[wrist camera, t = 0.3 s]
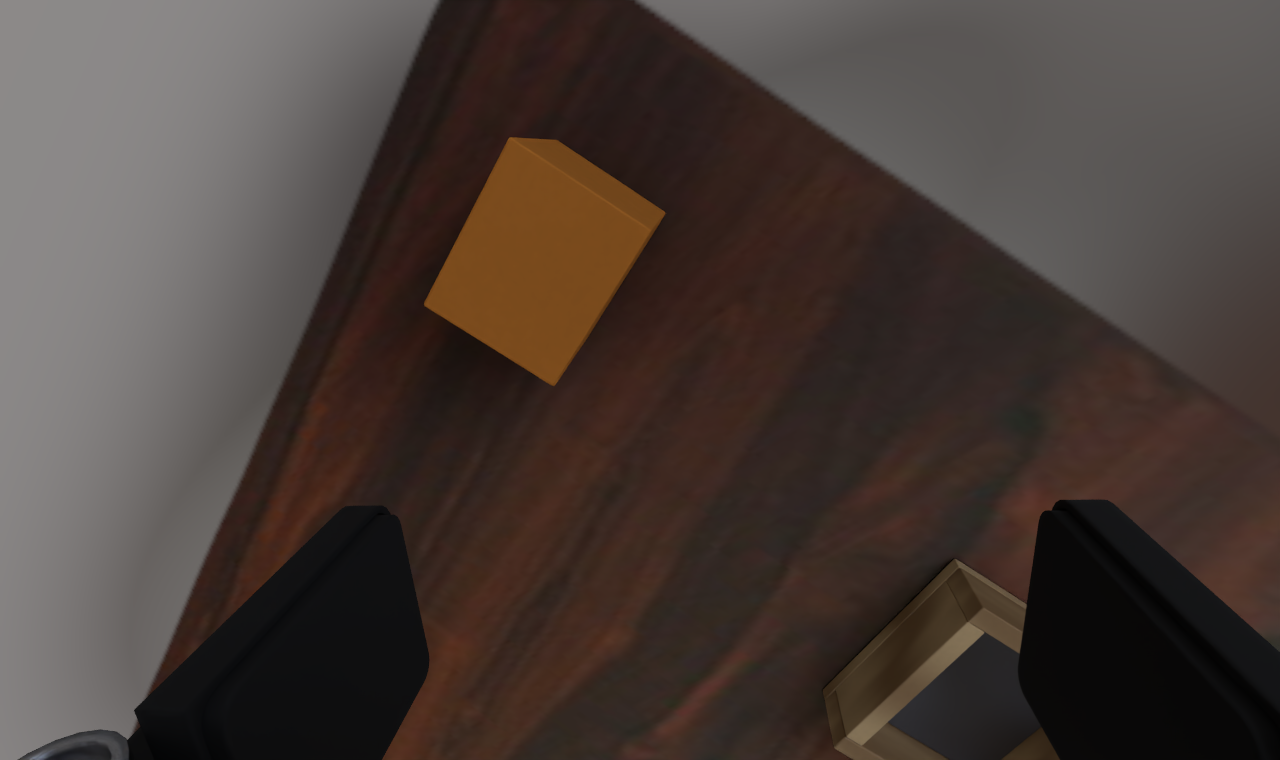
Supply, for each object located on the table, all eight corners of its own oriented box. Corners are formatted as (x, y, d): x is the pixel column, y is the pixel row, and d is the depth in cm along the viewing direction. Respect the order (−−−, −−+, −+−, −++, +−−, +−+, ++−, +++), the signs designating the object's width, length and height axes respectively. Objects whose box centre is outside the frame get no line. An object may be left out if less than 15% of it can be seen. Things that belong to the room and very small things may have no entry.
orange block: (555, 139, 23) (509, 136, 18) (666, 212, 23) (651, 230, 18) (483, 273, 25) (422, 305, 20) (587, 339, 25) (553, 387, 20)
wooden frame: (954, 557, 27) (983, 607, 24) (1261, 753, 28) (1324, 823, 25) (821, 689, 29) (833, 748, 27) (1106, 861, 31) (1146, 935, 28)
